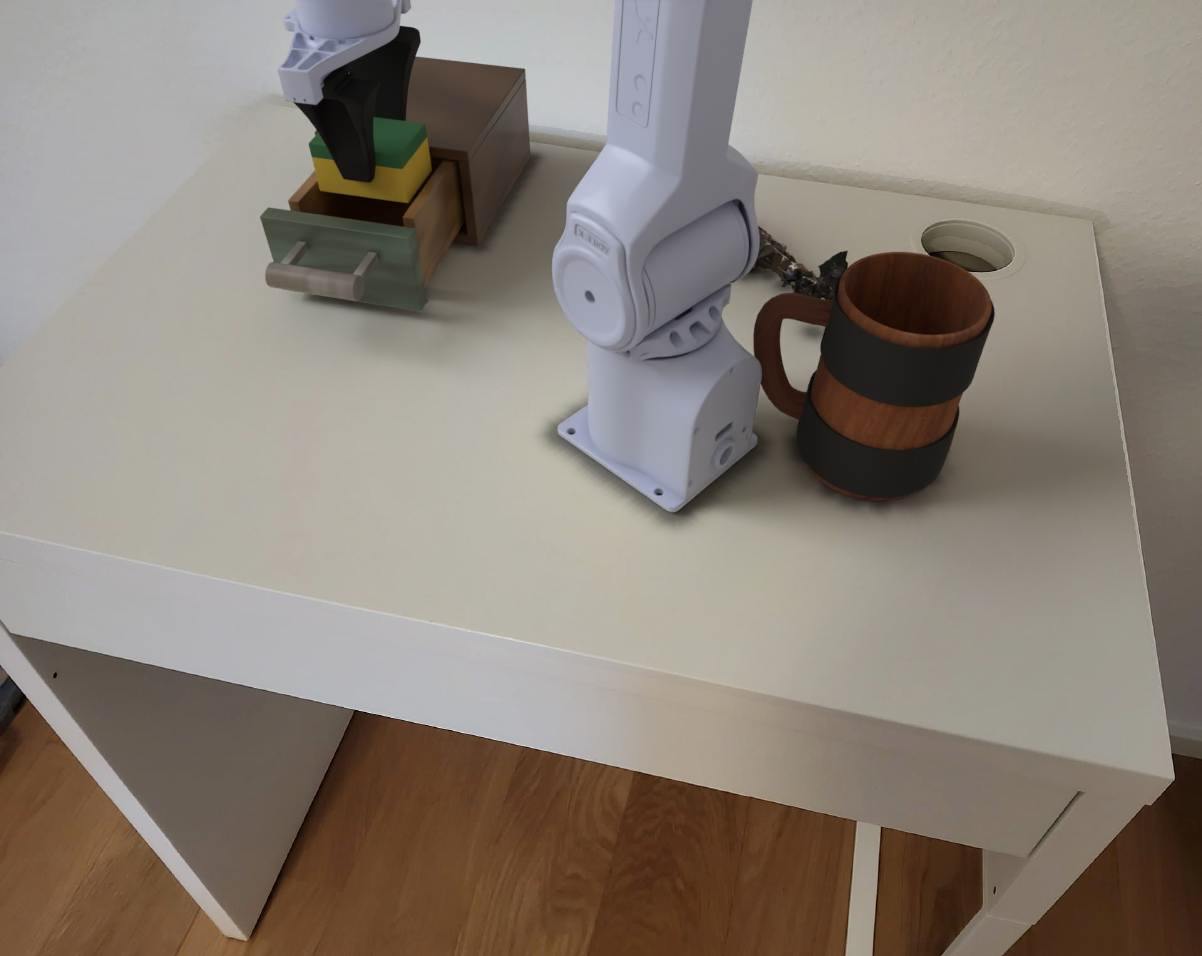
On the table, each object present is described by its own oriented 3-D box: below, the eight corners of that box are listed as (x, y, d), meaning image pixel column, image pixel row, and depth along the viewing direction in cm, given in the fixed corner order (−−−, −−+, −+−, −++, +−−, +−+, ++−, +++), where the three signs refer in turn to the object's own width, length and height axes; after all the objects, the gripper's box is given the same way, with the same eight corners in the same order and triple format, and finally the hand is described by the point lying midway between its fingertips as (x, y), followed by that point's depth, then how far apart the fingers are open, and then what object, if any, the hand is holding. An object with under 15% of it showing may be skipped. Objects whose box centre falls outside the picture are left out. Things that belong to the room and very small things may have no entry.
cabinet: (478, 246, 70) (467, 151, 64) (336, 225, 72) (313, 131, 66) (530, 157, 79) (525, 68, 73) (403, 141, 80) (388, 52, 75)
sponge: (408, 203, 62) (400, 155, 60) (319, 191, 63) (307, 143, 61) (432, 170, 65) (425, 123, 63) (347, 159, 66) (337, 112, 64)
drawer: (397, 351, 60) (381, 277, 56) (251, 327, 62) (225, 253, 57) (481, 214, 71) (474, 143, 67) (356, 197, 73) (340, 126, 68)
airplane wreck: (823, 356, 61) (840, 286, 57) (651, 228, 71) (655, 162, 67) (884, 324, 63) (904, 255, 59) (709, 205, 73) (716, 140, 69)
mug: (752, 381, 59) (778, 221, 51) (945, 421, 57) (1006, 260, 48) (723, 475, 54) (746, 314, 45) (935, 524, 51) (1002, 362, 43)
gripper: (323, -104, 59) (363, 104, 69) (203, -21, 49) (270, 207, 59) (427, -95, 57) (453, 115, 67) (325, -9, 48) (373, 222, 58)
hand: (374, 159), depth 63 cm, fingers closed on sponge, 4 cm apart
